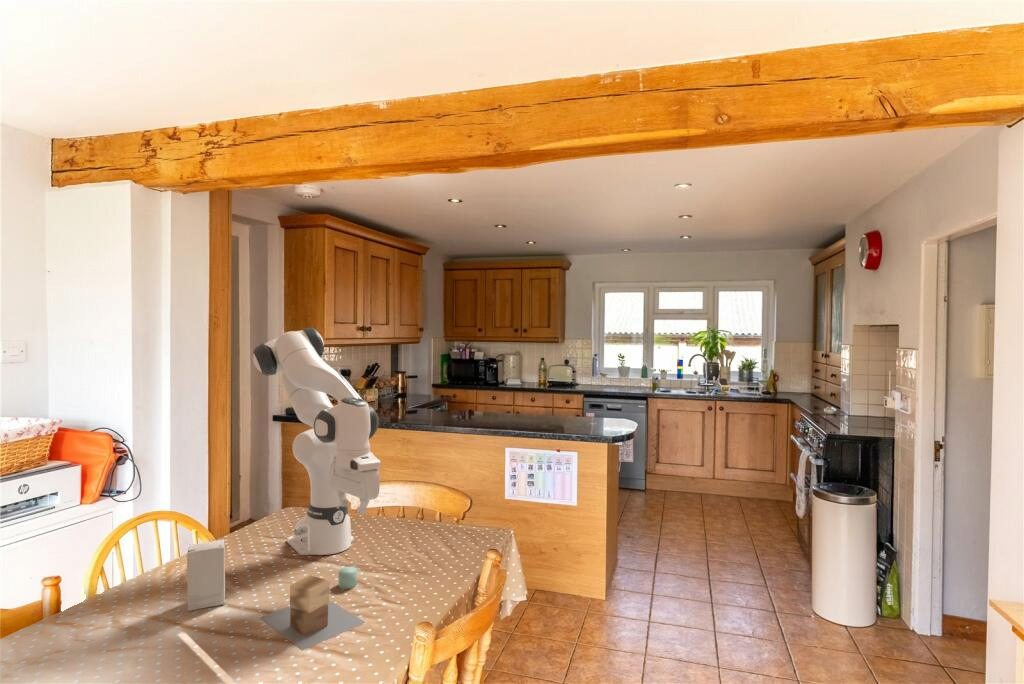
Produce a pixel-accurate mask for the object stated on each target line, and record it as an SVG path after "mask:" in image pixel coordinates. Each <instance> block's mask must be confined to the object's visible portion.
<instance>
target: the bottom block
mask: <svg viewBox="0 0 1024 684" xmlns="http://www.w3.org/2000/svg"><path fill="white" fill-rule="evenodd" d="M326 626H328V604H327V603H326V604H325V605H323V606H321V607H319V608H318V609H316V610H314V611H312V612H311V613H307V612H304V611H300V610H297V609H294V608H291V609H290V627H292V628H293V629H294V630H296V631H297V632H299V633H300V634H301V635H303V636H305V635H307V634H310V633H312V632H314V631H317V630H319V629H322V628H324V627H326Z"/></svg>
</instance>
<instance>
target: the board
mask: <svg viewBox="0 0 1024 684" xmlns="http://www.w3.org/2000/svg"><path fill="white" fill-rule="evenodd" d="M327 604H328V626H326V627H324V628H322V629H319V630H317V631H314V632H312V633H310V634H307V635H305V636H303V635H301V634H300V633H299V632H297V631H296V630H294V629H293V628H292V627H290V609H291V607H290V605H289V606H287V607H284V608H281V609H279V610H278V609H277V610H275V611H273V612H270V613H268V614H265V615H262V616H259V617H258V618H259V619H260V620H262V621H263V623H266V624H267V625H268V626H269V627H271V628H272V629H274V631H276V632H277V633H278V634H280V635H281V636H282V637H284V638H285V639H286V640H288V641H289V642H290V643H291V644H293V645H294V646H296V647H297V648H298V649H299V650H301V651H305V650H306V649H309V648H311V647H314V646H316V645H318V644H320V643H322V642H323V643H324V641H327V640H330V639H331V638H334V637H337V636H339V635H341V634H343V633H345V632H347V631H350V630H352V629H354V628H357V627H359V626H361V625H365V624H367V622H366V620H365V621H364V620H363V619H361V618H360V617H358V616H357V615H355V614H353V613H351V612H350V611H348V610H347V609H345V608H343V607H341V606H340V605H338V604H336V603H335V602H334V601H332V600H330V599H329V602H328V603H327Z"/></svg>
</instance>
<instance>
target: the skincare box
mask: <svg viewBox="0 0 1024 684" xmlns="http://www.w3.org/2000/svg"><path fill="white" fill-rule="evenodd" d="M225 549H226V546H225V539H218V540H212V541H207V542H206V541H205V542H198V543H191V544H189V545H188V549H187V552H186V558H187V559H186V568H187V569H186V572H187V574H186V575H187V581H186V582H187V611H188V612H189V611H195V610H201V609H204V608H205V609H206V608H210V607H211V608H212V607H216V606H217V607H218V606H221V605H224V604H225V600H226V599H225V598H226V573H225V572H226V565H225V564H226V562H225V561H226V560H225V558H226V557H225V556H226V551H225Z"/></svg>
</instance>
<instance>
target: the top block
mask: <svg viewBox="0 0 1024 684" xmlns="http://www.w3.org/2000/svg"><path fill="white" fill-rule="evenodd" d="M289 587H290V588H289V606H290V607H291V608H294V609H297V610H300V611H304V612H307V613H311V612H312V611H314V610H316V609H318V608H319V607H321V606H323V605H325V604H326V603H328V602H329V600H330V580H328V579H325V578H321V577H317V576H314V575H310V574H309V575H308V576H306V577H303V578H301V579H300V580H298V581H296V582H294V583H292V584H290V585H289Z"/></svg>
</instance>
